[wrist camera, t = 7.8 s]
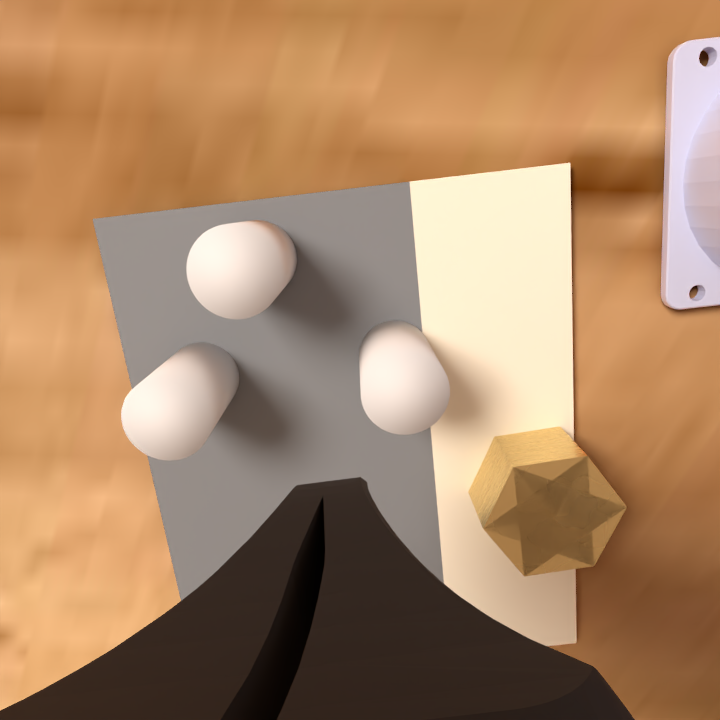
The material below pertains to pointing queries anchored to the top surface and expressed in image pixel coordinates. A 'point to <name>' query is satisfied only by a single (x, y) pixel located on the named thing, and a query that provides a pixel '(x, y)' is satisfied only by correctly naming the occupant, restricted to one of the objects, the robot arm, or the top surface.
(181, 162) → the top surface
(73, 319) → the top surface
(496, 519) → the tan faceted polyhedron
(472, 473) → the board
